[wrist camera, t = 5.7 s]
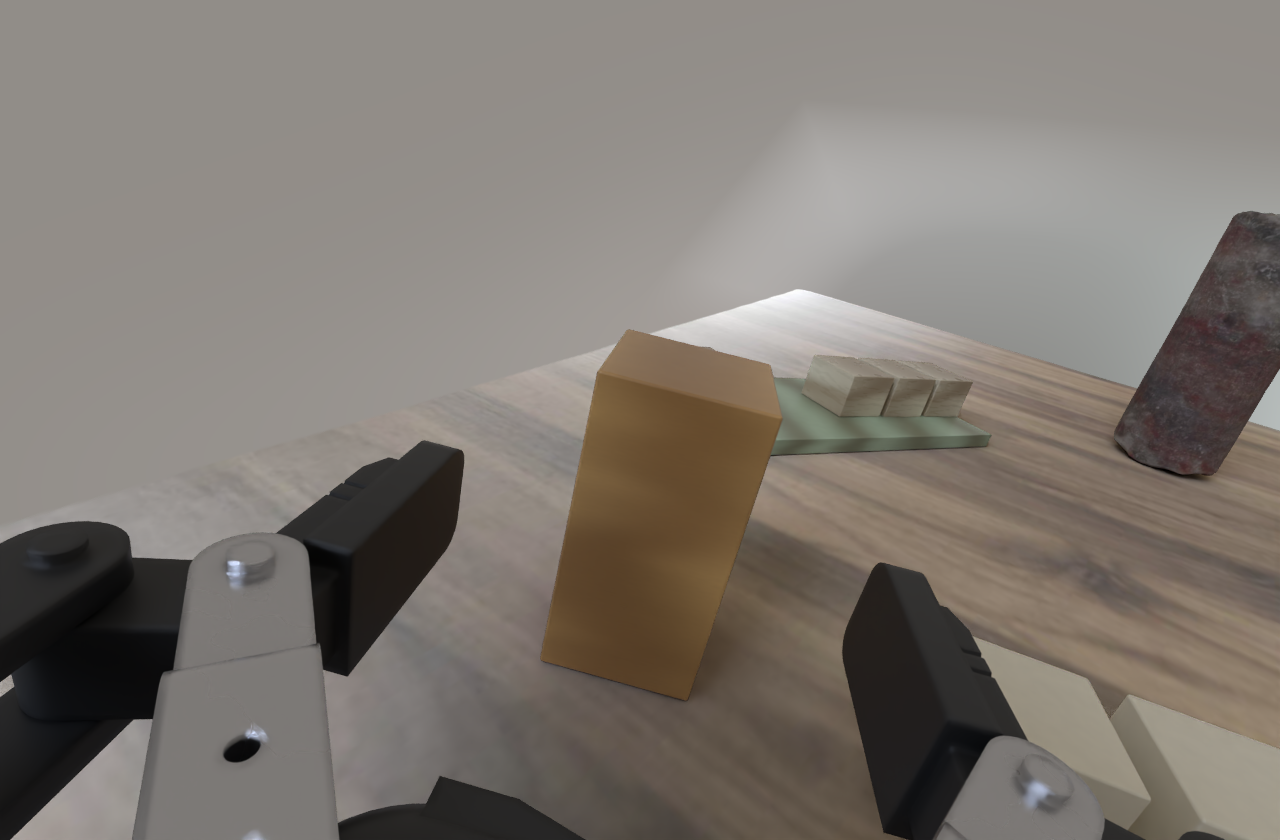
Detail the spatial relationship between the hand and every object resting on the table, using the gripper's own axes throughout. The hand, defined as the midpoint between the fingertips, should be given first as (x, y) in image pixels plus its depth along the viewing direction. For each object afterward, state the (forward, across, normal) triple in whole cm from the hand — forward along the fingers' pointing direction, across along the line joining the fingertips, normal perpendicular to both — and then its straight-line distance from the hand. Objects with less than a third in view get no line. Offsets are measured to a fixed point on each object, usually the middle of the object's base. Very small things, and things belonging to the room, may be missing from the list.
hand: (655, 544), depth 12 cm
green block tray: (+31, -10, +7) cm, 33 cm away
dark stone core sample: (+43, -41, +7) cm, 60 cm away
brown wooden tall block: (+6, 0, +7) cm, 9 cm away
